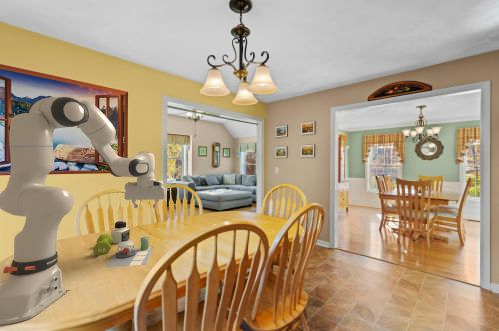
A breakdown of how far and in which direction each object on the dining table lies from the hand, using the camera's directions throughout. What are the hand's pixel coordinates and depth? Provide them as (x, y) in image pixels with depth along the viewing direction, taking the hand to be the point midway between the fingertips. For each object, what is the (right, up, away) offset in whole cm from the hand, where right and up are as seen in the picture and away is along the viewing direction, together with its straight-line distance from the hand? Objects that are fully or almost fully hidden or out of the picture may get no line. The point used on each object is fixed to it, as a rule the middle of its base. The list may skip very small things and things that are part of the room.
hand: (145, 207), depth 127 cm
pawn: (-1, -22, 0) cm, 22 cm away
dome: (-6, -20, -8) cm, 22 cm away
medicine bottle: (-21, -23, +13) cm, 33 cm away
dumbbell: (-22, -23, -1) cm, 32 cm away
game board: (-3, -23, -9) cm, 25 cm away
